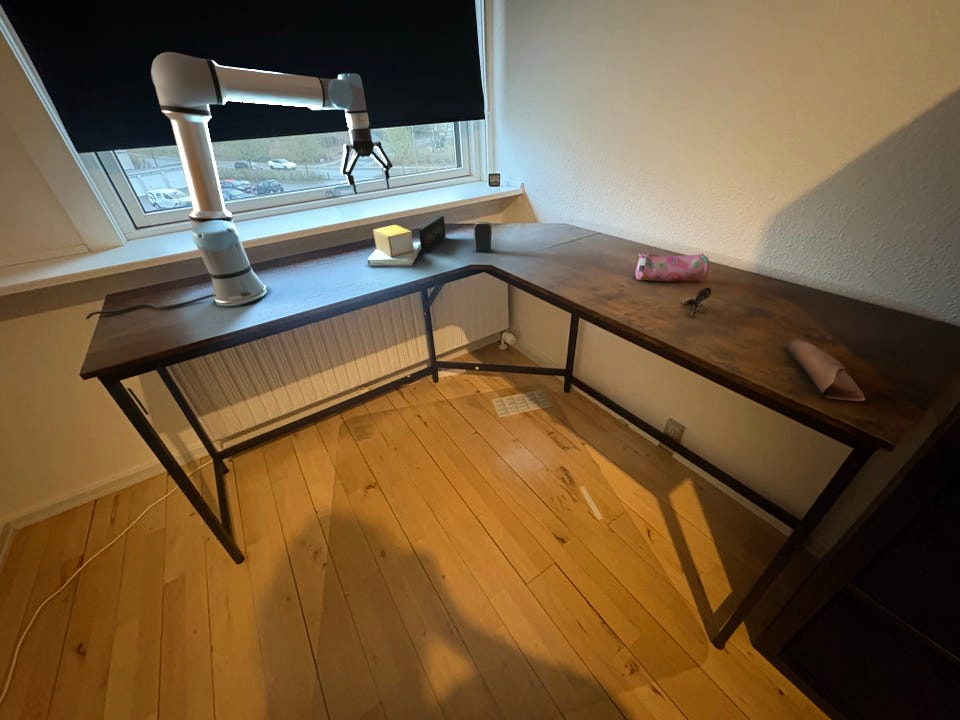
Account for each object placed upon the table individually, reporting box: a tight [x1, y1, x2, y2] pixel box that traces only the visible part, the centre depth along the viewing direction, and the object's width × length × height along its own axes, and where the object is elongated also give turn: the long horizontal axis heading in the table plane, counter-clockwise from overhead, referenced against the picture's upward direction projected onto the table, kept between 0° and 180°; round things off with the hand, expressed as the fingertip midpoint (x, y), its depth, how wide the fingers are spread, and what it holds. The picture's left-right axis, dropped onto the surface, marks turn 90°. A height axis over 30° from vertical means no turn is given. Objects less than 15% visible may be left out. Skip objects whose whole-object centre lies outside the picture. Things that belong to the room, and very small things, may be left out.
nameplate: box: [418, 215, 447, 254], centre depth 161 cm, size 21×2×10 cm, turn 161°
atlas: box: [366, 241, 421, 267], centre depth 153 cm, size 17×20×3 cm
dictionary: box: [372, 224, 414, 258], centre depth 150 cm, size 13×10×8 cm
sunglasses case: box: [785, 338, 867, 402], centre depth 82 cm, size 18×7×7 cm, turn 168°
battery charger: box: [473, 221, 493, 253], centre depth 153 cm, size 7×4×11 cm, turn 82°
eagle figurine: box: [682, 287, 712, 317], centre depth 106 cm, size 8×7×9 cm
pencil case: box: [635, 252, 710, 282], centre depth 123 cm, size 21×9×9 cm, turn 81°
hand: (371, 191), depth 148 cm, fingers open, 13 cm apart
